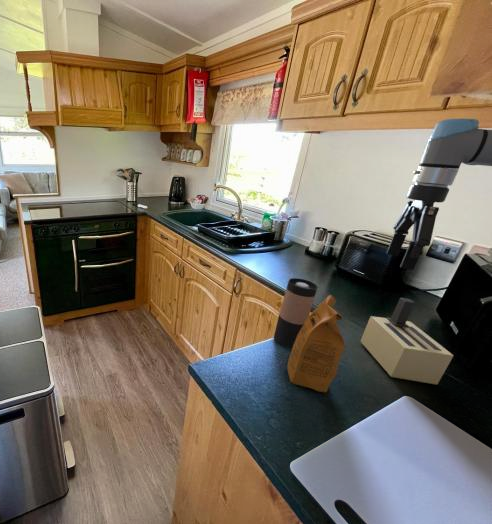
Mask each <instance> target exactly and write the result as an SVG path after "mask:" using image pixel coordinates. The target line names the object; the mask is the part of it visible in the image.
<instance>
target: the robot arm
mask: <svg viewBox="0 0 492 524" xmlns="http://www.w3.org/2000/svg"><path fill="white" fill-rule="evenodd" d="M479 125H480V121H479V120H478V119H477V118H447V119H446V118H445V119H442V120H440V121H439V122H437V123H436V124H435V126H434V128H433V130H432V131H431V132H432V133H431V134H430V137H429V138H428V140H427V143H426V146H425V149H424V151H423V154H422V157H421V160H420V161H419V165H418V167H417V169H415V170H414V171H413V174H414V177H413V180H412V182H413V183H414V184H411V185H410V187H409V190H408V191H407V194H406V199H409V200H408V201H407V203H406V204H405V208H404V209H403V210H402V213H400V216H399V218H398V219H397V221H396V223H395V224H394V226H393V228H392V229H393V230H394V231H393V232H394V233H393V236H392V238H391V241H390V243H389V246H388V248H387V251H386V253H385V254H386V255H391V256H395V257H398V256H399V254H400V253H401V250H402V247H403V245H404V242H405V240H406V237H407V236H408V235H409V230H410V229H411V228H412V226H413V228H412V238H411V240H410V241H409V242H408V243H407V244H408V246H407V249H406V252H405V254H404V256H403V258H402V260H401V263H400V265H399V267H400V269H405V270H412V271H414V270H415V268H416V265H417V263H418V261H419V259H420V256H421V254H422V252H423V249H424V248H425V247H430V246H431V242H432V237H433V232H434V227H435V224H436V218H437V215H438V214H439V211H440V207H438V206H434V205H435V203H444V202H445V201H446V200H447V199H446V198H447V196H448V195H449V192H450V187H449V186H452V185H453V183H454V181H455V180H456V177H457V175H458V172H459V170H460V167H461V165H462V164H464V165H467V166H485V167H492V129H484V128H479Z"/></svg>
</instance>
